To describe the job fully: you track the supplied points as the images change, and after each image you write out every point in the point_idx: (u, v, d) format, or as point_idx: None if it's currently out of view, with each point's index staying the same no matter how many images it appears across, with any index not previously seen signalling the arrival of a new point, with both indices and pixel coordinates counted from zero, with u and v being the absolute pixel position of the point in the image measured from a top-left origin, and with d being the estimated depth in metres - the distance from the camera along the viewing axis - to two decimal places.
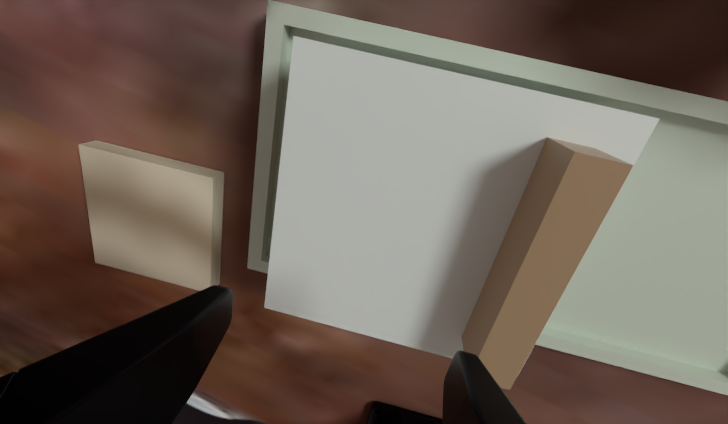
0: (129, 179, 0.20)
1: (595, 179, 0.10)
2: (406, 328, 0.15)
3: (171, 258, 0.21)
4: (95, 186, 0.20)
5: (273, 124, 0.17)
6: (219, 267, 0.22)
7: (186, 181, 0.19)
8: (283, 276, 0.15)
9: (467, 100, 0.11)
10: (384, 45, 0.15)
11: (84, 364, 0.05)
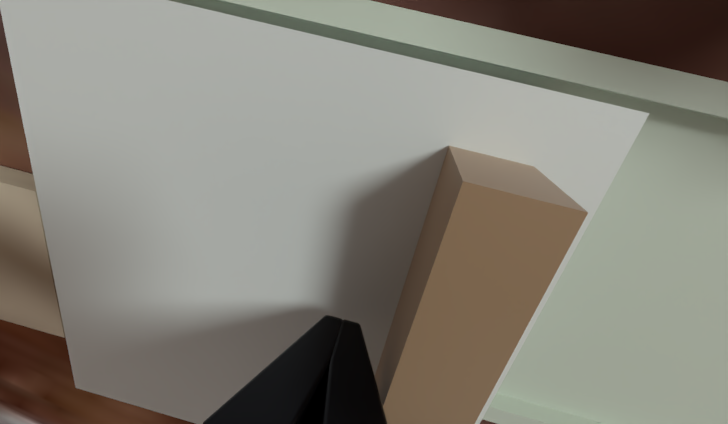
0: None
1: (510, 238, 0.05)
2: None
3: (8, 293, 0.16)
4: None
5: None
6: None
7: (3, 195, 0.14)
8: (88, 348, 0.10)
9: (304, 78, 0.06)
10: None
11: (259, 414, 0.05)
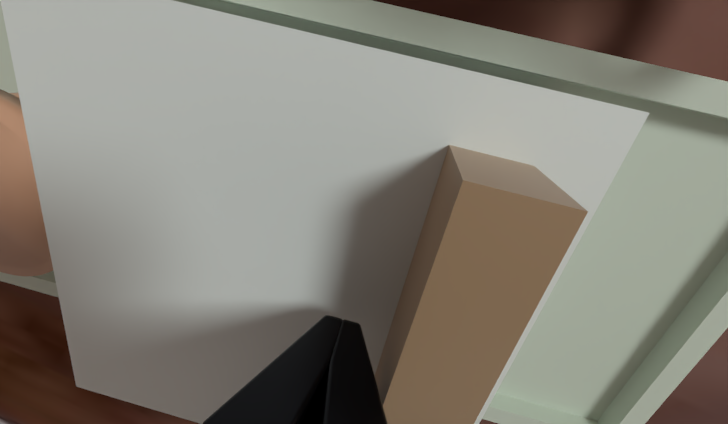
0: None
1: (510, 237, 0.05)
2: None
3: None
4: None
5: None
6: None
7: None
8: (89, 347, 0.10)
9: (305, 77, 0.06)
10: None
11: (259, 414, 0.05)
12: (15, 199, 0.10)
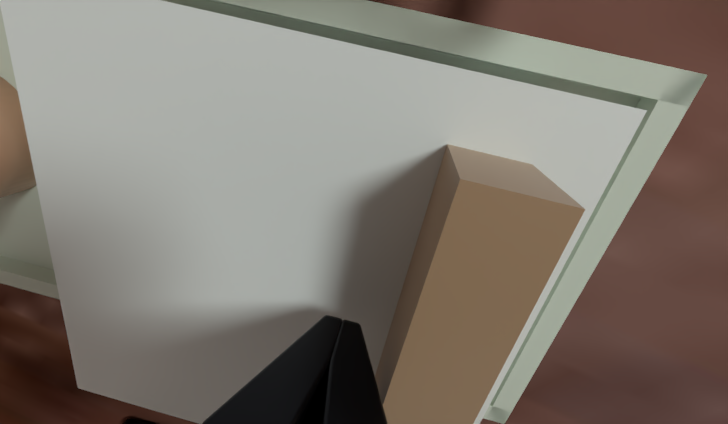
0: None
1: (508, 235, 0.05)
2: None
3: None
4: None
5: None
6: None
7: None
8: (90, 348, 0.10)
9: (303, 78, 0.06)
10: None
11: (259, 414, 0.05)
12: None
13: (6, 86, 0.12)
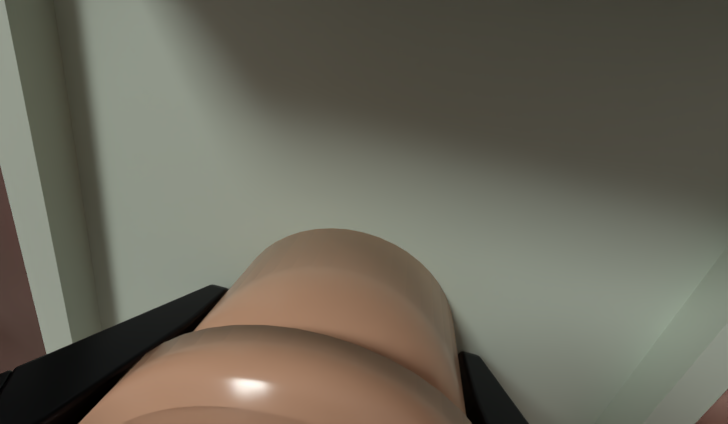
0: None
1: None
2: None
3: None
4: None
5: None
6: None
7: None
8: None
9: None
10: (61, 301, 0.08)
11: (79, 363, 0.05)
12: None
13: (259, 255, 0.07)
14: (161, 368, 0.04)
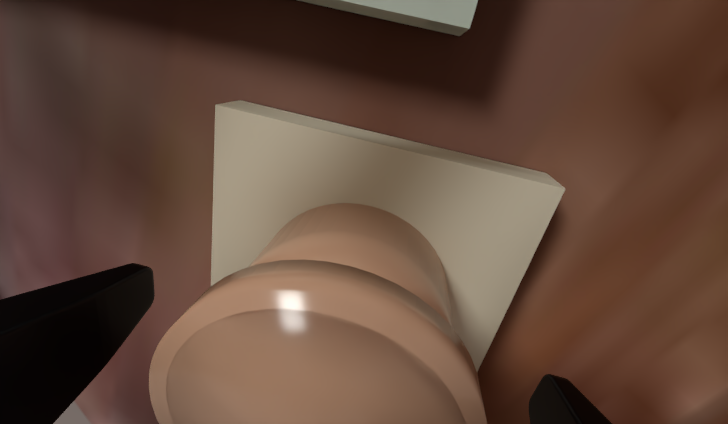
0: None
1: None
2: None
3: None
4: None
5: None
6: (493, 161, 0.08)
7: (236, 174, 0.08)
8: None
9: None
10: None
11: None
12: (318, 389, 0.05)
13: (283, 226, 0.09)
14: (231, 287, 0.05)
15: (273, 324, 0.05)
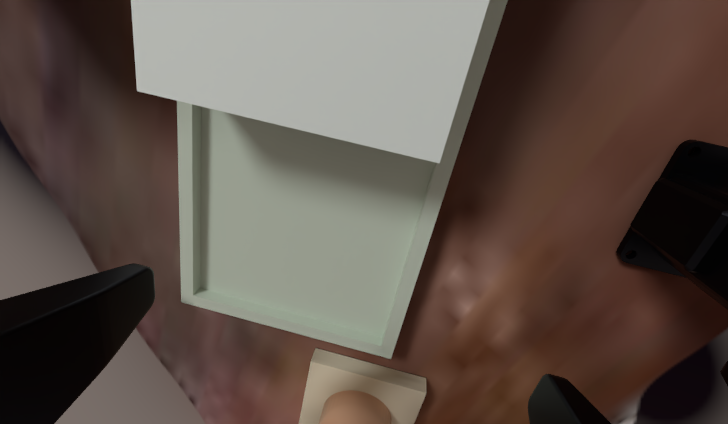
0: (319, 415, 0.25)
1: None
2: None
3: (389, 410, 0.24)
4: None
5: (258, 313, 0.22)
6: (407, 374, 0.24)
7: (315, 379, 0.24)
8: (389, 130, 0.12)
9: None
10: (191, 233, 0.20)
11: None
12: None
13: (332, 396, 0.24)
14: None
15: None
